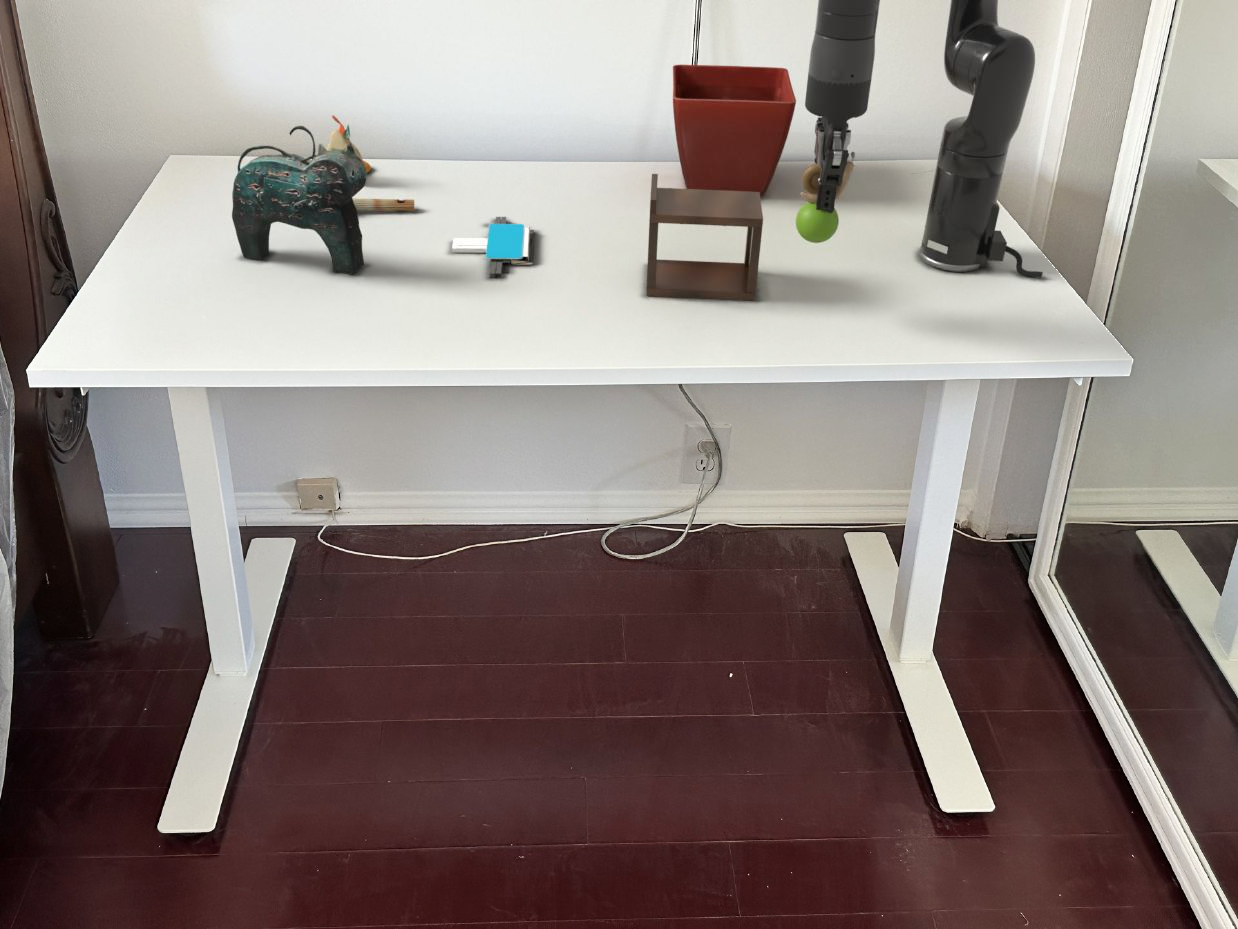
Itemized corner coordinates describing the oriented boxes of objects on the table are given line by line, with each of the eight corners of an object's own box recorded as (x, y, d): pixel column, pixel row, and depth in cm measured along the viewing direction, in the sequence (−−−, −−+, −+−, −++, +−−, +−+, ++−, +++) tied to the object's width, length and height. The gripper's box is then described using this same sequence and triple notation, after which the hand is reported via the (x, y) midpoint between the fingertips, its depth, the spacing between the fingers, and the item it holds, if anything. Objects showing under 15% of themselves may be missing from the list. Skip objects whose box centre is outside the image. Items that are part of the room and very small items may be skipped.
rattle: (391, 179, 194) (385, 110, 188) (348, 190, 190) (341, 121, 183) (366, 166, 199) (359, 99, 192) (324, 177, 194) (315, 109, 187)
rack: (751, 270, 169) (760, 177, 161) (754, 300, 161) (764, 204, 153) (647, 266, 169) (652, 173, 161) (646, 296, 161) (650, 199, 153)
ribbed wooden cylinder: (283, 188, 181) (414, 192, 184) (285, 205, 183) (414, 209, 185) (280, 198, 178) (413, 202, 181) (282, 215, 180) (413, 218, 182)
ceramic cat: (378, 264, 168) (364, 126, 156) (358, 283, 162) (342, 142, 151) (254, 245, 172) (231, 109, 160) (230, 263, 167) (205, 124, 155)
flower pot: (667, 160, 205) (672, 62, 195) (777, 164, 204) (787, 66, 195) (667, 202, 189) (672, 98, 180) (785, 206, 189) (797, 102, 179)
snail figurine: (844, 251, 149) (857, 160, 142) (794, 248, 150) (804, 158, 143) (842, 234, 154) (854, 145, 147) (793, 231, 154) (803, 142, 147)
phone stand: (457, 220, 181) (457, 210, 180) (534, 221, 181) (534, 211, 181) (447, 277, 164) (447, 266, 164) (532, 278, 165) (532, 267, 164)
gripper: (880, 90, 134) (859, 231, 144) (864, 55, 145) (846, 188, 155) (814, 88, 134) (798, 229, 144) (803, 53, 145) (789, 186, 155)
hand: (823, 207), depth 149 cm, fingers closed on snail figurine
